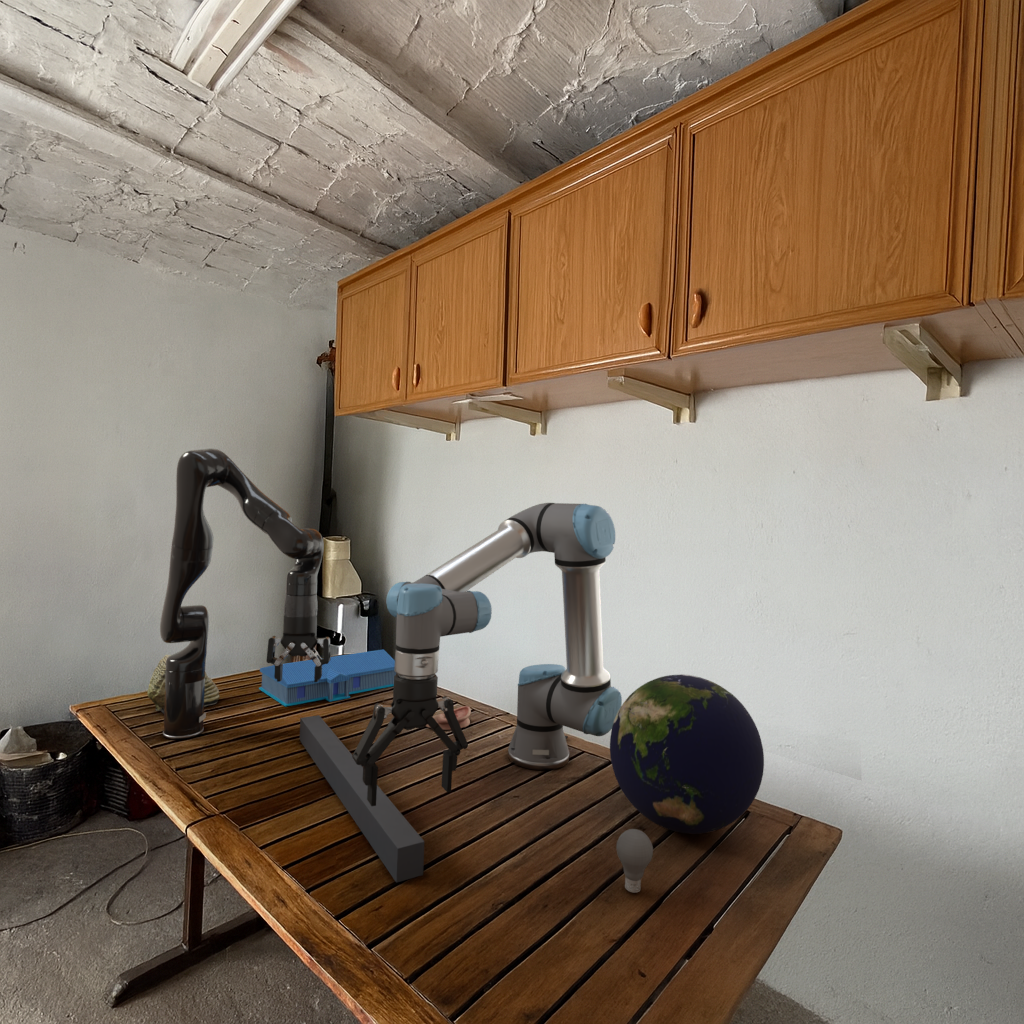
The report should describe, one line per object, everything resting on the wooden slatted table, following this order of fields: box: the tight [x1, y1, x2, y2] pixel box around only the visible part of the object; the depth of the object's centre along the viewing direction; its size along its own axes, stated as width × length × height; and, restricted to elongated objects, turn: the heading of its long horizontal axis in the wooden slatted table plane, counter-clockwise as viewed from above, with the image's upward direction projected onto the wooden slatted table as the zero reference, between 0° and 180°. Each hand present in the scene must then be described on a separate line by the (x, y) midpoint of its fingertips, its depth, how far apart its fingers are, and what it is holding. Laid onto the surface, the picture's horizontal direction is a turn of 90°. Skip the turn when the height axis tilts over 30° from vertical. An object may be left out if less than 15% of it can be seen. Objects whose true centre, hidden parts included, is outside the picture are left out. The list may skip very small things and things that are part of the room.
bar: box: [299, 714, 425, 883], centre depth 136 cm, size 69×5×6 cm, turn 32°
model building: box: [258, 649, 397, 707], centre depth 208 cm, size 39×24×10 cm, turn 132°
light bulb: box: [615, 828, 654, 894], centre depth 106 cm, size 6×6×10 cm
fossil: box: [147, 654, 221, 712], centre depth 185 cm, size 9×18×15 cm, turn 132°
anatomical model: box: [425, 705, 472, 731], centre depth 180 cm, size 13×4×12 cm
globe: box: [609, 673, 765, 835], centre depth 128 cm, size 30×30×30 cm
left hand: (298, 681), depth 150 cm, fingers open, 8 cm apart
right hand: (409, 795), depth 110 cm, fingers open, 13 cm apart
